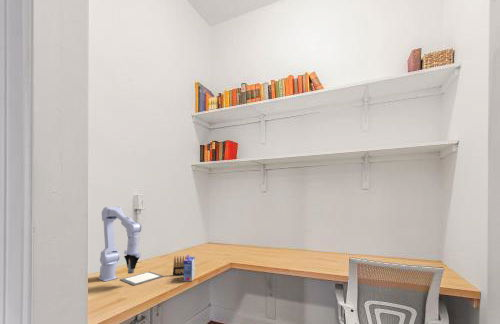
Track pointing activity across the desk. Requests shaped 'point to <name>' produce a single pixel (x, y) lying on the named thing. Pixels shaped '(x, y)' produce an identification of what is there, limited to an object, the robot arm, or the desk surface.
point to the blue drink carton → (189, 268)
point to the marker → (130, 268)
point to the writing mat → (141, 278)
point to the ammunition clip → (178, 266)
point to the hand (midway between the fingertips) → (131, 268)
